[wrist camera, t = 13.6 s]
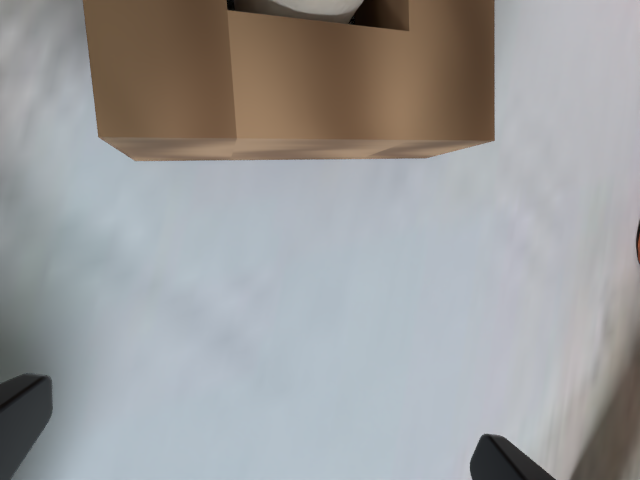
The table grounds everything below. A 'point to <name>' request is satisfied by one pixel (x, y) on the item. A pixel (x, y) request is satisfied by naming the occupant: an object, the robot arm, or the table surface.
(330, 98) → the socket board
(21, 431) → the robot arm
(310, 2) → the white pointed lump
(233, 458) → the table surface
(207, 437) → the table surface
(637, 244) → the goblet
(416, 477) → the table surface
